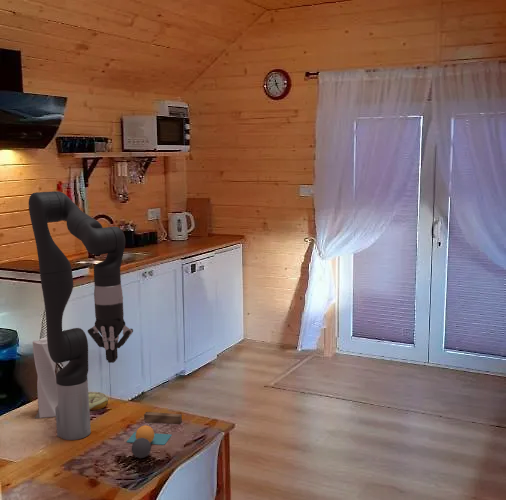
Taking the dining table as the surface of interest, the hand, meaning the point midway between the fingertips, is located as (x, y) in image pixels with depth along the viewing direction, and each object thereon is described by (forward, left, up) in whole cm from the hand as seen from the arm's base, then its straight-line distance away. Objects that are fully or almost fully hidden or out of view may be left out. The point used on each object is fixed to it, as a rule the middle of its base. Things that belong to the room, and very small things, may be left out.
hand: (112, 361), depth 176 cm
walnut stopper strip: (+4, +27, -29) cm, 40 cm away
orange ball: (+4, +11, -26) cm, 29 cm away
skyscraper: (-36, +27, -30) cm, 54 cm away
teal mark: (+4, +14, -29) cm, 33 cm away
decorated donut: (-25, +36, -30) cm, 53 cm away
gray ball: (+6, +3, -26) cm, 27 cm away
